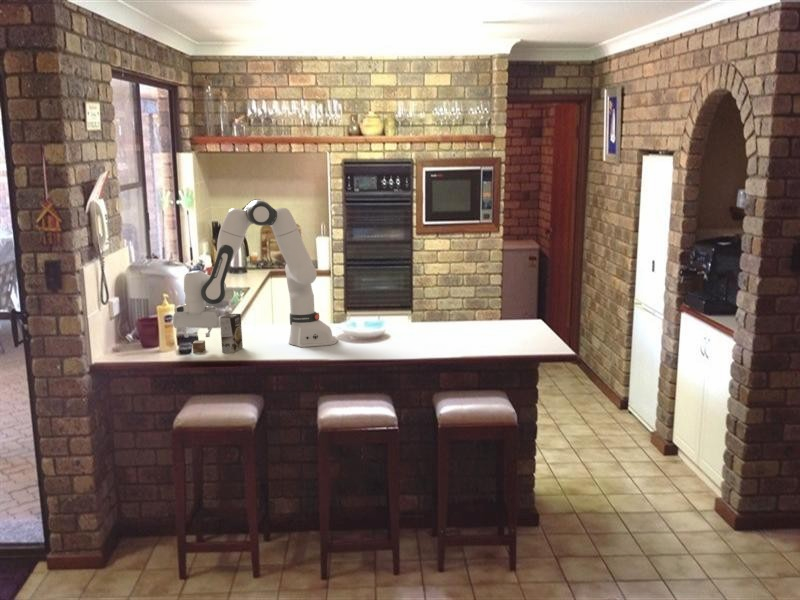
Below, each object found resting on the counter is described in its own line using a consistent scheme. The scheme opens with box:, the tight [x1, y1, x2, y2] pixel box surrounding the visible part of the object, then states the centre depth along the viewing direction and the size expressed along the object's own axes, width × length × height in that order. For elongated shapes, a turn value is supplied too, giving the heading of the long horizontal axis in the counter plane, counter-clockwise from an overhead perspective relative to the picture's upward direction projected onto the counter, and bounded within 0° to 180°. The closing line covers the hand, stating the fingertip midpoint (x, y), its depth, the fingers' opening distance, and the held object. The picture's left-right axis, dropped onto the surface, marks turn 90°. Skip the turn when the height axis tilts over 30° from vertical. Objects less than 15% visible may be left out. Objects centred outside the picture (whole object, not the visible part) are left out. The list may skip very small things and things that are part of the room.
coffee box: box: [219, 313, 244, 354], centre depth 332 cm, size 9×6×16 cm
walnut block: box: [192, 339, 207, 354], centre depth 333 cm, size 4×4×4 cm
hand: (197, 337), depth 332 cm, fingers open, 8 cm apart
